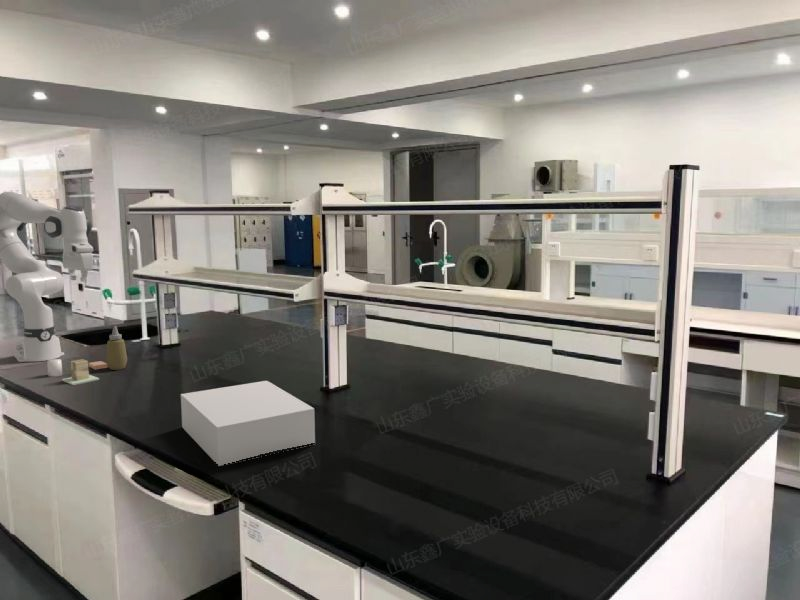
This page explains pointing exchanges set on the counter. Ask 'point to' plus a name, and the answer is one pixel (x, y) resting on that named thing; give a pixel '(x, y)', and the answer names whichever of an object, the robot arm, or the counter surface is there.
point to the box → (246, 421)
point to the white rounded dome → (54, 367)
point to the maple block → (79, 370)
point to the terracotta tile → (98, 365)
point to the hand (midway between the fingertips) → (78, 280)
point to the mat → (74, 382)
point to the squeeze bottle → (116, 351)
